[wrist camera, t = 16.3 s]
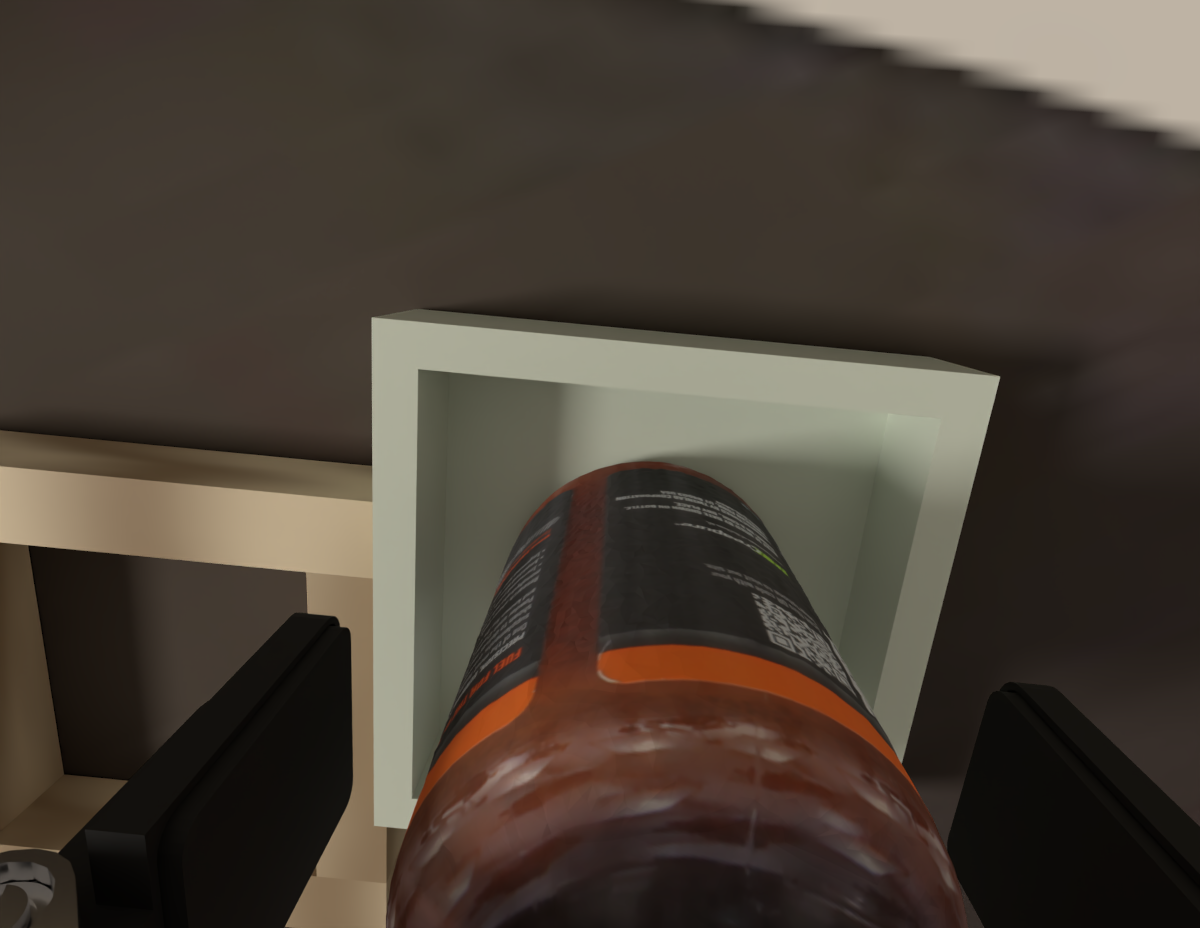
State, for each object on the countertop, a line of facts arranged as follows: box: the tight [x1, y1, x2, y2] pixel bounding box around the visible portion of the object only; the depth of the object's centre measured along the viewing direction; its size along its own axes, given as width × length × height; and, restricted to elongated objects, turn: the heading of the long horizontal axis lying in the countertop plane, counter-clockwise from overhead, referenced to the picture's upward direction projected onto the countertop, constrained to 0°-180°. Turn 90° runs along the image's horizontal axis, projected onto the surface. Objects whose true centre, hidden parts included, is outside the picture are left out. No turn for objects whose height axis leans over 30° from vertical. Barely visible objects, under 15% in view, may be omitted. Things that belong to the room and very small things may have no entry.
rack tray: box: [372, 309, 1000, 829], centre depth 14 cm, size 11×11×3 cm
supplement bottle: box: [386, 461, 968, 928], centre depth 9 cm, size 6×6×11 cm
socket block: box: [0, 430, 407, 928], centre depth 15 cm, size 11×11×2 cm
